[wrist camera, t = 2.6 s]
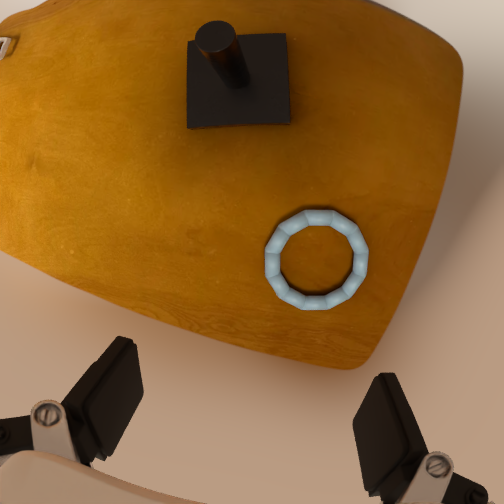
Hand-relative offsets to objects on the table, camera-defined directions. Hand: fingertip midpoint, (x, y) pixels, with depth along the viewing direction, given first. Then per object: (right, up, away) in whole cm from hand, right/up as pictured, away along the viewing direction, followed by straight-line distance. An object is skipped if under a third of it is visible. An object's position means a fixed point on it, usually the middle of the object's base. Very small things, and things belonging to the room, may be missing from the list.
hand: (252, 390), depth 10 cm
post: (-1, +21, +13) cm, 24 cm away
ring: (+6, +4, +16) cm, 18 cm away
